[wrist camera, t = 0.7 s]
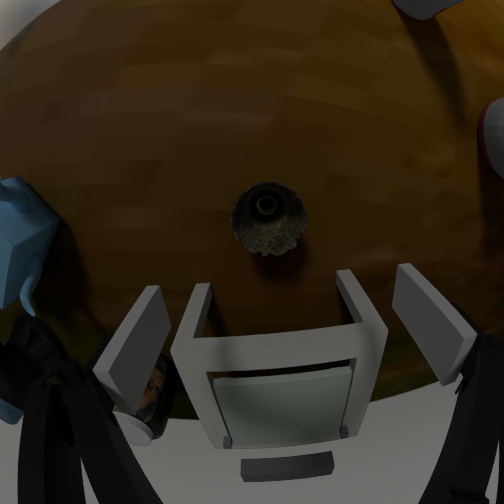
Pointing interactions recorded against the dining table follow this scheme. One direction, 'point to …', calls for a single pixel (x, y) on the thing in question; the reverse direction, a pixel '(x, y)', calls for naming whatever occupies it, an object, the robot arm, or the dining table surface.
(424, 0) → the milk bottle
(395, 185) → the dining table surface
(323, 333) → the frame
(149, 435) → the jar
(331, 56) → the dining table surface
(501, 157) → the citrus juicer
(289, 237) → the cup
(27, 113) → the dining table surface
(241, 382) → the trapdoor
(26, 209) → the teakettle
